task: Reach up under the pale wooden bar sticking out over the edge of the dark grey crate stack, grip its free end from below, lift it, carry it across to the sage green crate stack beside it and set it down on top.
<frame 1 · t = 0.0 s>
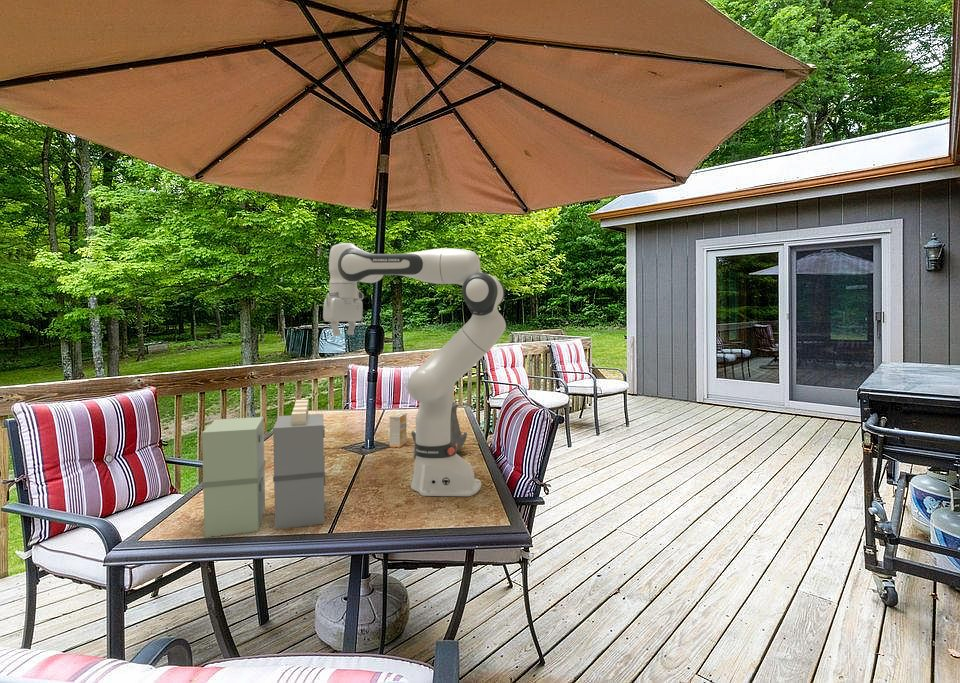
hand: (343, 335, 163), 48 cm above the table, tool pointing down, fingers open, 8 cm apart
green crate stack: (237, 521, 130), on the table
grey crate stack: (301, 514, 135), on the table
supplement box: (398, 445, 209), on the table
wooden bar: (300, 416, 139), point 26 cm above the table, touching grey crate stack
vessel: (438, 453, 198), on the table
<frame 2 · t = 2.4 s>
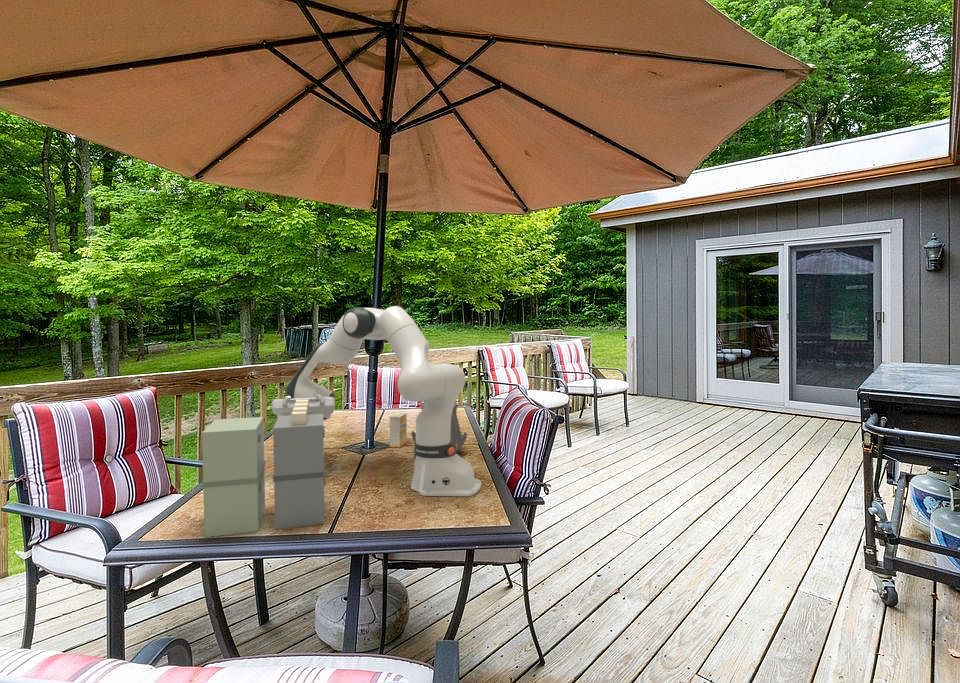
hand: (303, 397, 163), 27 cm above the table, tool pointing upward, fingers open, 8 cm apart
nothing on the table moved.
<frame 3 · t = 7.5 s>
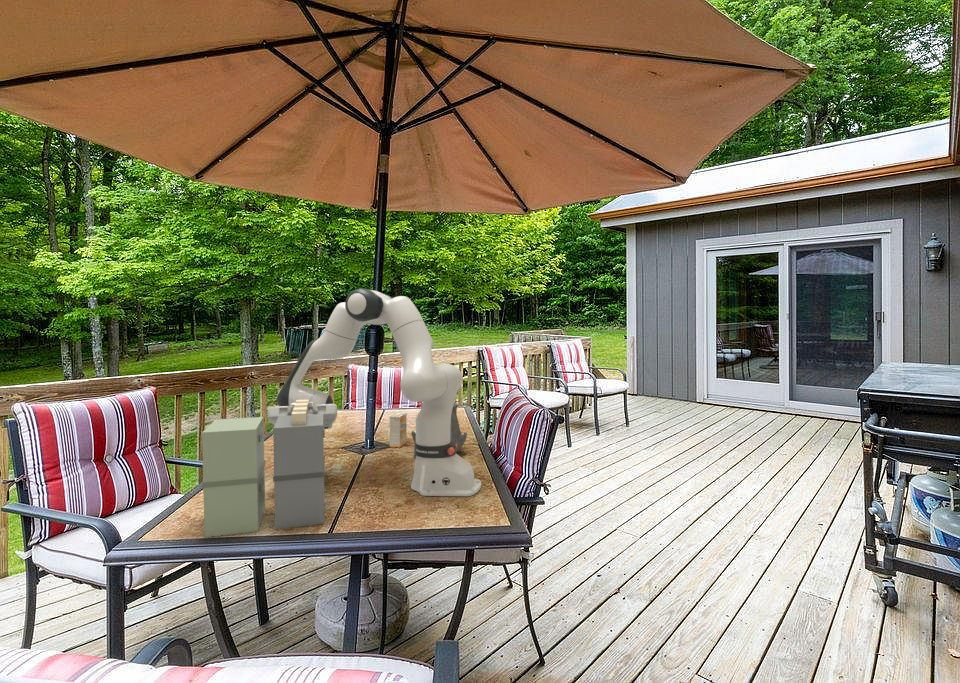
hand: (302, 405, 146), 28 cm above the table, tool pointing upward, fingers closed on wooden bar, 3 cm apart
wooden bar: (300, 416, 139), point 26 cm above the table, touching grey crate stack, gripper
everything else where it was.
when the fingers open (30 cm above the table, at t = 15.6 s): wooden bar drops 2 cm, resting on green crate stack.
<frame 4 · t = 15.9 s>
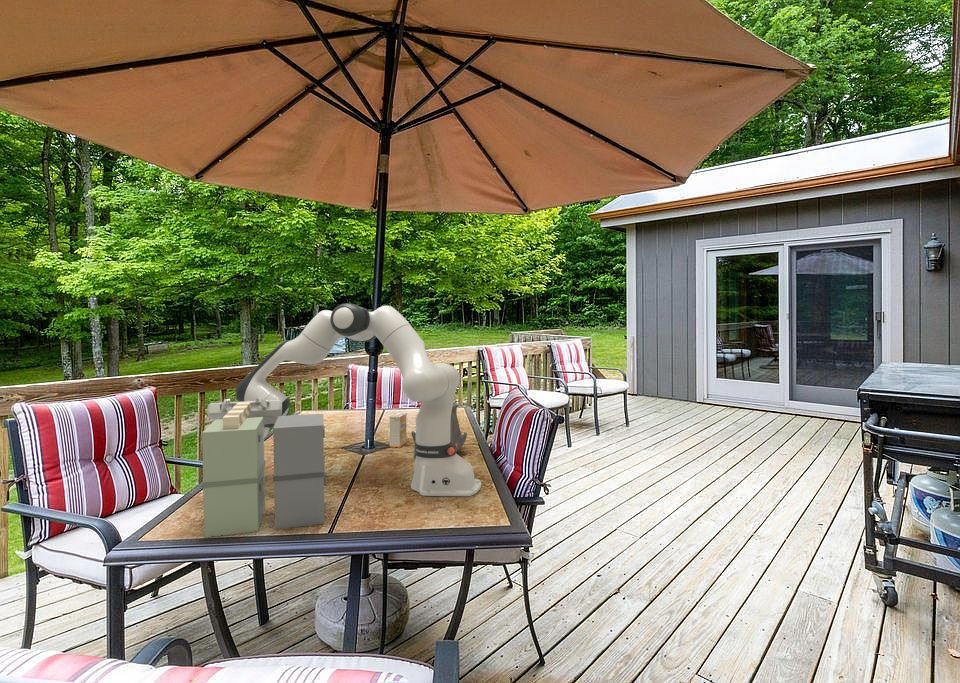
hand: (242, 400, 142), 30 cm above the table, tool pointing upward, fingers open, 7 cm apart
wooden bar: (238, 419, 135), point 26 cm above the table, touching green crate stack
everything else where it was.
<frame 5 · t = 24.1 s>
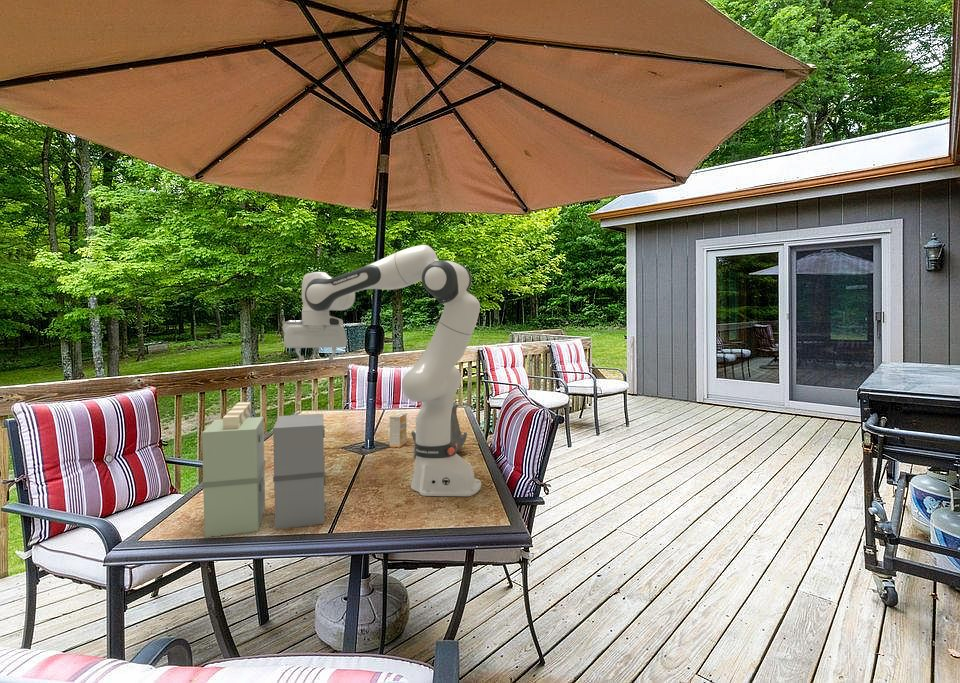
hand: (316, 361, 168), 39 cm above the table, tool pointing down, fingers open, 8 cm apart
nothing on the table moved.
at the end: wooden bar inside the target area on the green crate stack (0.5 cm from its centre), point 26.0 cm above the green crate stack's base; wooden bar touching green crate stack; the gripper is holding nothing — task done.
